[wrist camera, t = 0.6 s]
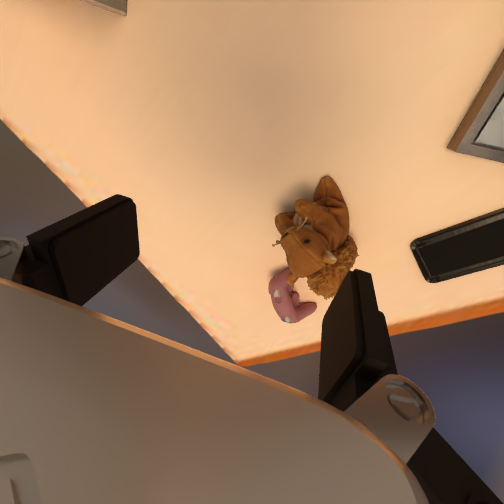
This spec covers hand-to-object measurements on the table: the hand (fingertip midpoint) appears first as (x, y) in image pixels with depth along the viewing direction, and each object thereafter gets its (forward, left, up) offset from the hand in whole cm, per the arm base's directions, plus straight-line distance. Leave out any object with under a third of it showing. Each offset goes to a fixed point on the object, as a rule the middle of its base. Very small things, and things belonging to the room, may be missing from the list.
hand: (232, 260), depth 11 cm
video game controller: (+23, +5, -28) cm, 37 cm away
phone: (+6, +26, -28) cm, 39 cm away
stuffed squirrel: (+10, +6, -28) cm, 31 cm away
